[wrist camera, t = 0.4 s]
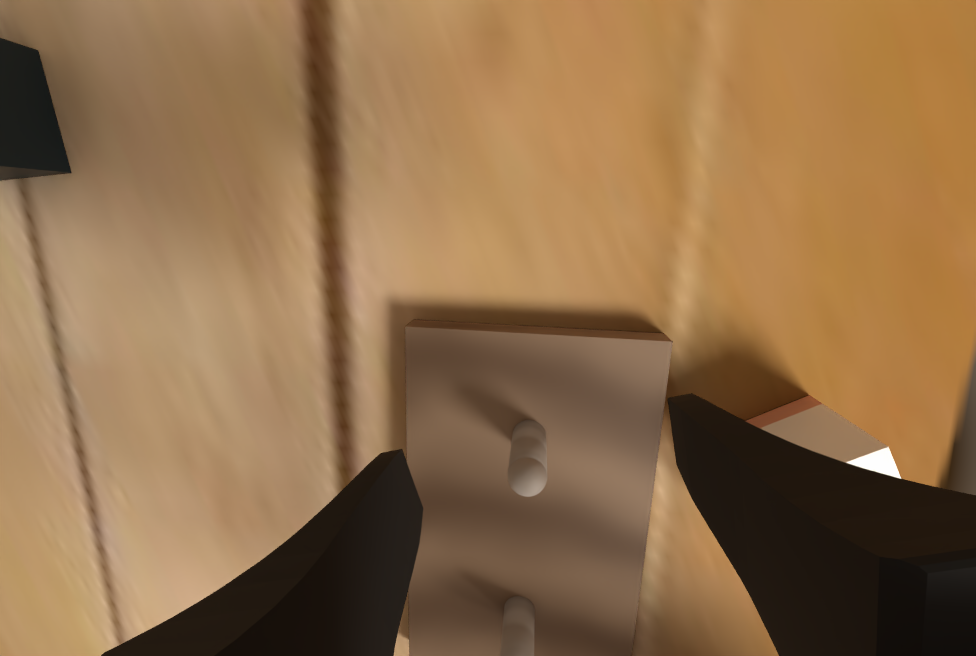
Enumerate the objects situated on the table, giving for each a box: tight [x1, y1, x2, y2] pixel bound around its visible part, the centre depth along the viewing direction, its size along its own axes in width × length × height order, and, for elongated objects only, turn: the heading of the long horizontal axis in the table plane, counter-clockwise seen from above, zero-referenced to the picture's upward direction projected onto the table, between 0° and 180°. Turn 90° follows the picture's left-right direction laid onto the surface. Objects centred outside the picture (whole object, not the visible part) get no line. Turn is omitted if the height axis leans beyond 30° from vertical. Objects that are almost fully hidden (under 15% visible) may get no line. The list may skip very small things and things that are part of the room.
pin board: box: [405, 320, 673, 656], centre depth 22 cm, size 20×12×6 cm, turn 178°
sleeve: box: [746, 395, 901, 479], centre depth 20 cm, size 5×5×5 cm
